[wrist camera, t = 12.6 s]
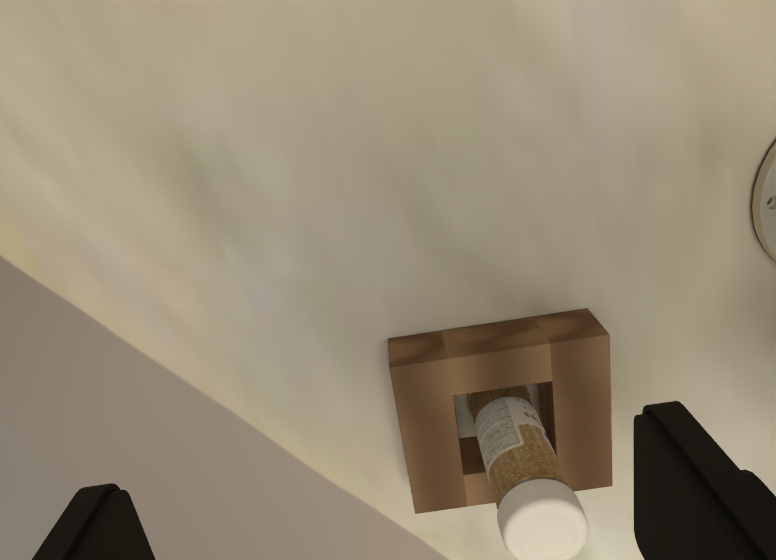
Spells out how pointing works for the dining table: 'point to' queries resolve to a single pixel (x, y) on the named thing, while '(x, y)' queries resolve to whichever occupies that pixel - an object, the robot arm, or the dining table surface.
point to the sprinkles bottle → (526, 478)
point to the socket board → (495, 371)
